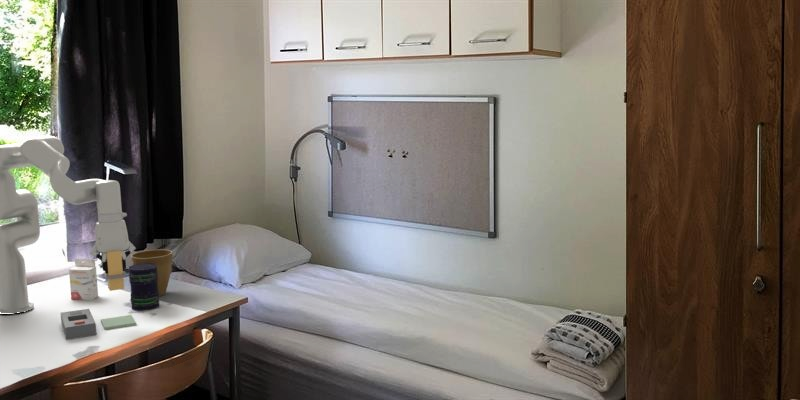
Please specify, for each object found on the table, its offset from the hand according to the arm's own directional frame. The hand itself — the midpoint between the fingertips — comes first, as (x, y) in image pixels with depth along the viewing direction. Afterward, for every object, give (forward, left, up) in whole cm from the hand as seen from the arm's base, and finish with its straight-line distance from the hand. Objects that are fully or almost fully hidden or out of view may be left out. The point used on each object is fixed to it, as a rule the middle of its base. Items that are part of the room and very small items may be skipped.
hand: (114, 271), depth 261 cm
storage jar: (-15, +11, -18) cm, 26 cm away
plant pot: (-30, +17, -18) cm, 39 cm away
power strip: (0, -13, -18) cm, 22 cm away
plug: (0, 0, -6) cm, 6 cm away
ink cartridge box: (-39, -7, -18) cm, 44 cm away
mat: (0, 0, -18) cm, 18 cm away
